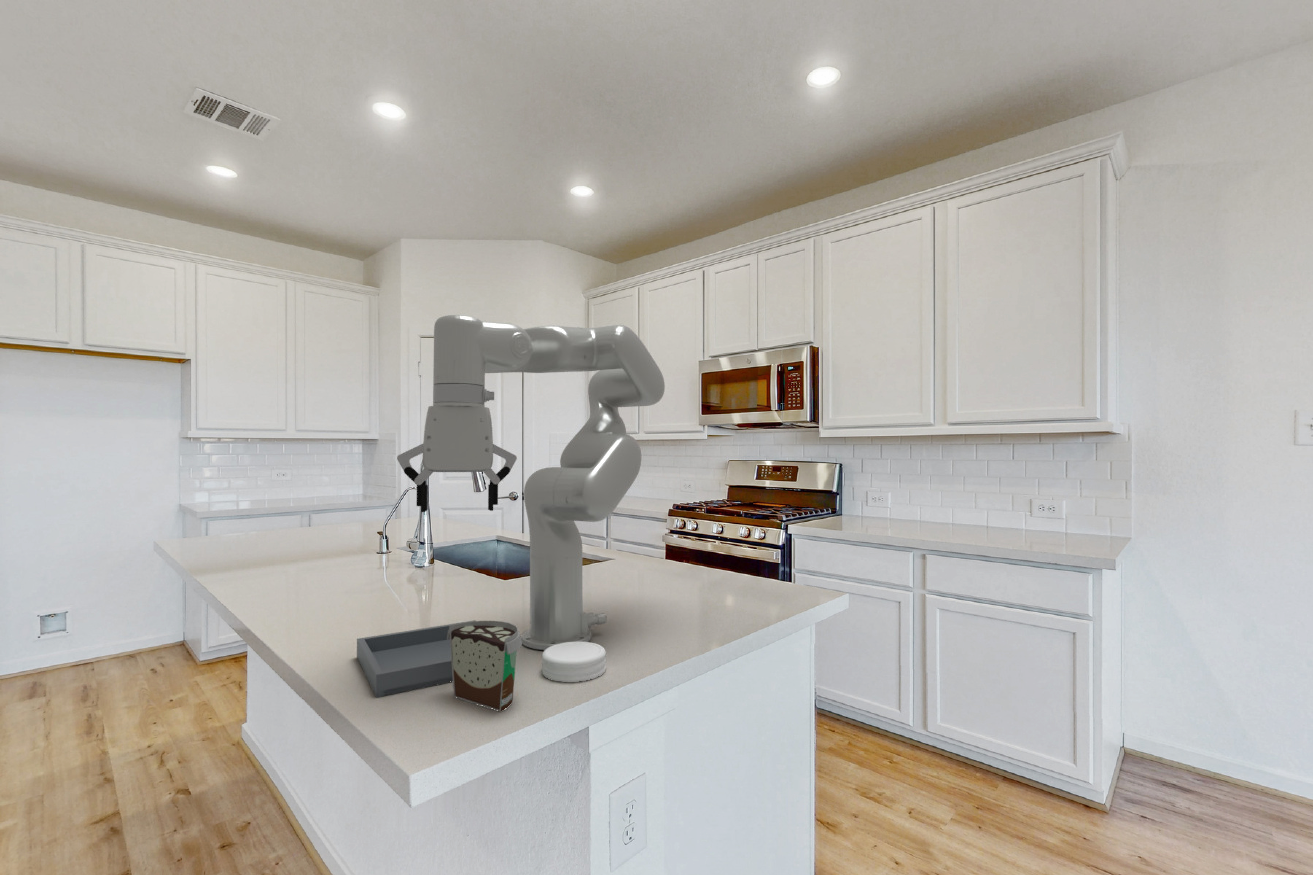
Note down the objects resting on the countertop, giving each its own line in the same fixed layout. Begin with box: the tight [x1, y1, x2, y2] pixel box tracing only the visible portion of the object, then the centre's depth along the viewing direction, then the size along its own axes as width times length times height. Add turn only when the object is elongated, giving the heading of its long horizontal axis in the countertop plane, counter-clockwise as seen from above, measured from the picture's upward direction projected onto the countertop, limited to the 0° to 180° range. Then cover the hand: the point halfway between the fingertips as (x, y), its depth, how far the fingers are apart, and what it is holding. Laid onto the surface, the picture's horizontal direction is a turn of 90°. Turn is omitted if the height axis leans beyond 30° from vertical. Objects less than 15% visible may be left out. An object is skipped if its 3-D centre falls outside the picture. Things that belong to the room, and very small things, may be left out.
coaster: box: [541, 641, 607, 683], centre depth 99 cm, size 10×10×4 cm
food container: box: [447, 620, 523, 712], centre depth 89 cm, size 12×6×10 cm, turn 58°
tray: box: [356, 620, 476, 698], centre depth 103 cm, size 20×20×3 cm
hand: (457, 510), depth 95 cm, fingers open, 9 cm apart
